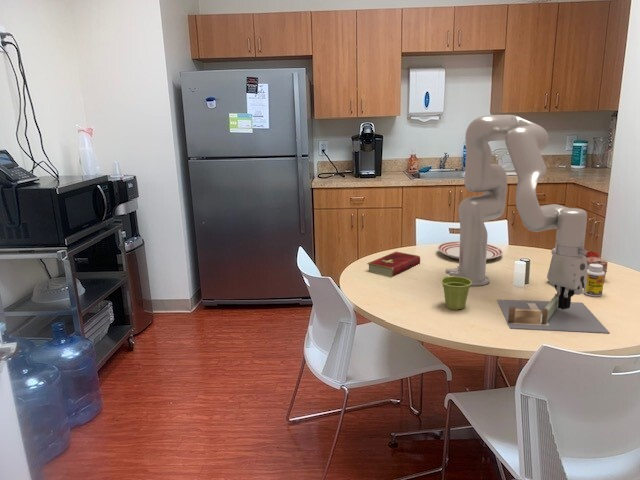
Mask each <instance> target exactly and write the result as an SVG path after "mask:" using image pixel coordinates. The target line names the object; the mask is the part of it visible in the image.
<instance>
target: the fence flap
mask: <svg viewBox="0 0 640 480" xmlns="http://www.w3.org/2000/svg"><path fill="white" fill-rule="evenodd" d="M558 299H559V295H557V293H554V296H553V297H552V299H551V300H550V302H549V304H548V305H547V306H546V307H545V308H546V309H548V311H547V321H548V320H549V319H550V317H551V316H552V315H553V313H554V312H555V310H556V309H557V308H558ZM547 321H546V322H547Z"/></svg>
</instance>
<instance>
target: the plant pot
mask: <svg viewBox="0 0 640 480" xmlns="http://www.w3.org/2000/svg"><path fill="white" fill-rule="evenodd" d="M454 276H455V275H451V276H446V277H443V278H442V279H440V282H441V284H442V287H443V293H444V295H443V296H444V301H445V302H444V303H445V306H446V307H447V308H448V309H450V310H454V311H455V310H464V309H465V308H466V304H467V301H468V300H467V299H468V294H469V291H470V288H471V286H470V285H471V284H472V281H471V280H469V279H467V278H464V277H454Z"/></svg>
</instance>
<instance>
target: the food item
mask: <svg viewBox="0 0 640 480" xmlns="http://www.w3.org/2000/svg"><path fill="white" fill-rule="evenodd" d="M583 256H585V257H586V261H587V269H589V264H600V265H602V266H603V270H602V271H604V273H605V276H604V281H605V280H606V279H605V278H606V275H607V272H608V271H607V270H608V261H606V260H605V259H602V258H601V257H600V254H599V252H594V251H592V250H591V251H587V253H586V255H583Z"/></svg>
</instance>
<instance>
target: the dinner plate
mask: <svg viewBox="0 0 640 480" xmlns="http://www.w3.org/2000/svg"><path fill="white" fill-rule="evenodd" d="M437 250H438V251H439V252H440V253H441V254H443V255H445V256H447V257H450V258H452V259H454V258H455V260H458V261H459V253H460V240H458V241H447V242H443V243H440V244H439V245H438V246H437ZM503 254H504V251H503V250H502V249H501V248H499V247H498V246H496V245H493V244H489V243H487V256H486V261H487V260H491V259H495V258H498V257H501V256H502V255H503Z"/></svg>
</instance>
